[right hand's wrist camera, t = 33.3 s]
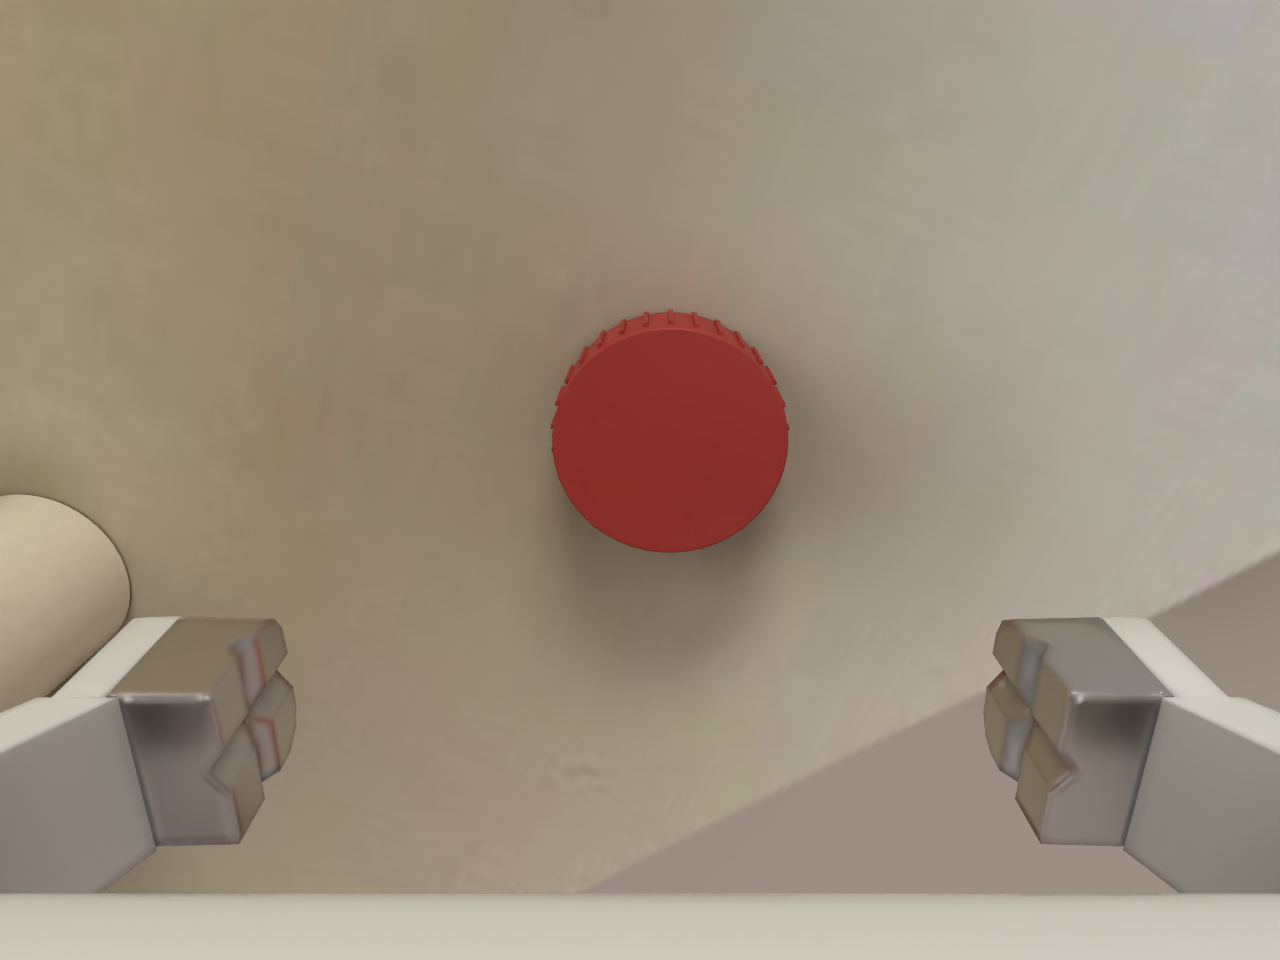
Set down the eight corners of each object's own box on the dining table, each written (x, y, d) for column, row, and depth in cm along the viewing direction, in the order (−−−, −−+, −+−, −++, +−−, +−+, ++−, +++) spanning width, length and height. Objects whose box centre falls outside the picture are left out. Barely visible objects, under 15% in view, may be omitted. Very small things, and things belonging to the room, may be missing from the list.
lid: (526, 349, 22) (513, 368, 20) (746, 278, 21) (755, 291, 19) (598, 547, 23) (593, 582, 21) (803, 487, 23) (818, 518, 21)
